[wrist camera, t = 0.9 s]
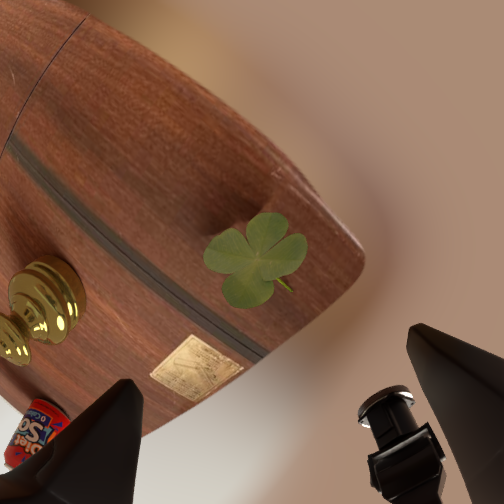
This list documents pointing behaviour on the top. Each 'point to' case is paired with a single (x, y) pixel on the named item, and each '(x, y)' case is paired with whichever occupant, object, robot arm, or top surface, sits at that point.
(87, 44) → the top surface
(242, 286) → the green clover leaf
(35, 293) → the brass weight
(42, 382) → the top surface
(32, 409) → the soda can
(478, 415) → the robot arm
